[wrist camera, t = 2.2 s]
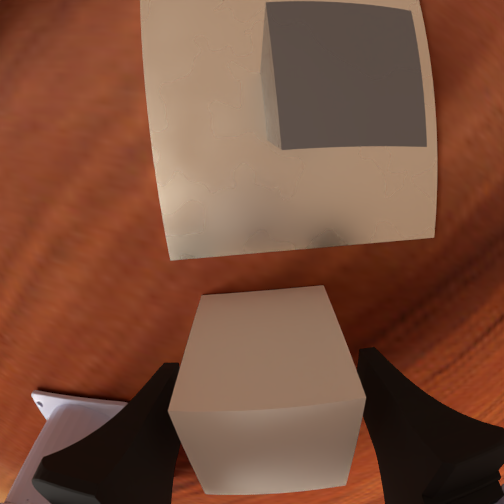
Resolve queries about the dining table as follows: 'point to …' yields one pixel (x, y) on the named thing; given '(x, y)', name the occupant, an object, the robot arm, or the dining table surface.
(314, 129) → the square base with peg
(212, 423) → the cream colored box
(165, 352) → the dining table surface
